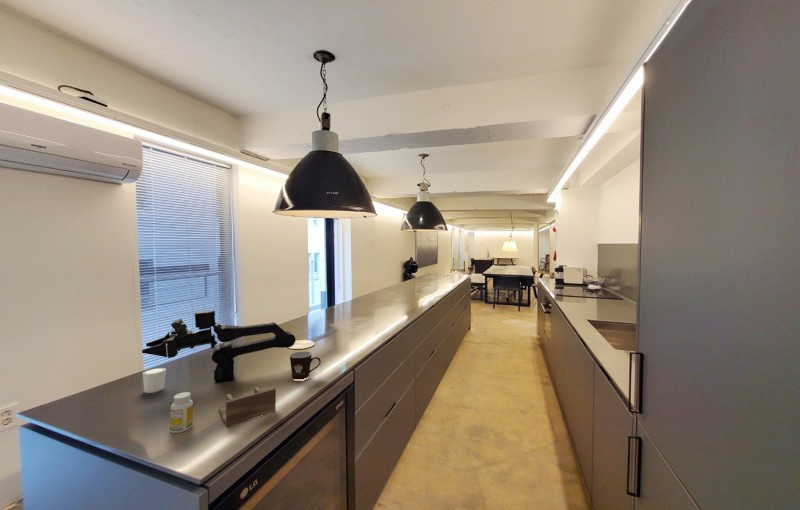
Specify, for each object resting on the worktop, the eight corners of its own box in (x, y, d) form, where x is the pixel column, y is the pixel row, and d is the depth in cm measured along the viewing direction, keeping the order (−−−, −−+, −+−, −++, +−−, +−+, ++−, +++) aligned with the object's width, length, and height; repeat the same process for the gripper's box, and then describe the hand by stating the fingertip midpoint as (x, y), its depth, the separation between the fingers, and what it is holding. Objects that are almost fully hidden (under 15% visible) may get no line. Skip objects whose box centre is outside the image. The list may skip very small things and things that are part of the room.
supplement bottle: (172, 436, 83) (173, 401, 83) (167, 428, 87) (168, 395, 87) (195, 427, 87) (195, 394, 88) (189, 421, 91) (190, 389, 91)
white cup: (152, 394, 108) (152, 375, 108) (137, 392, 110) (137, 373, 110) (170, 386, 115) (170, 368, 115) (155, 384, 116) (156, 366, 116)
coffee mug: (284, 381, 121) (285, 356, 121) (299, 373, 129) (299, 350, 129) (308, 385, 117) (308, 360, 117) (321, 377, 125) (322, 353, 125)
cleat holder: (218, 411, 97) (218, 388, 97) (263, 398, 106) (264, 377, 106) (226, 427, 88) (226, 402, 88) (275, 411, 97) (275, 389, 97)
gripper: (195, 314, 124) (146, 321, 116) (194, 322, 109) (137, 331, 100) (197, 340, 125) (148, 349, 116) (196, 353, 109) (140, 364, 101)
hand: (144, 348), depth 108 cm, fingers open, 9 cm apart
